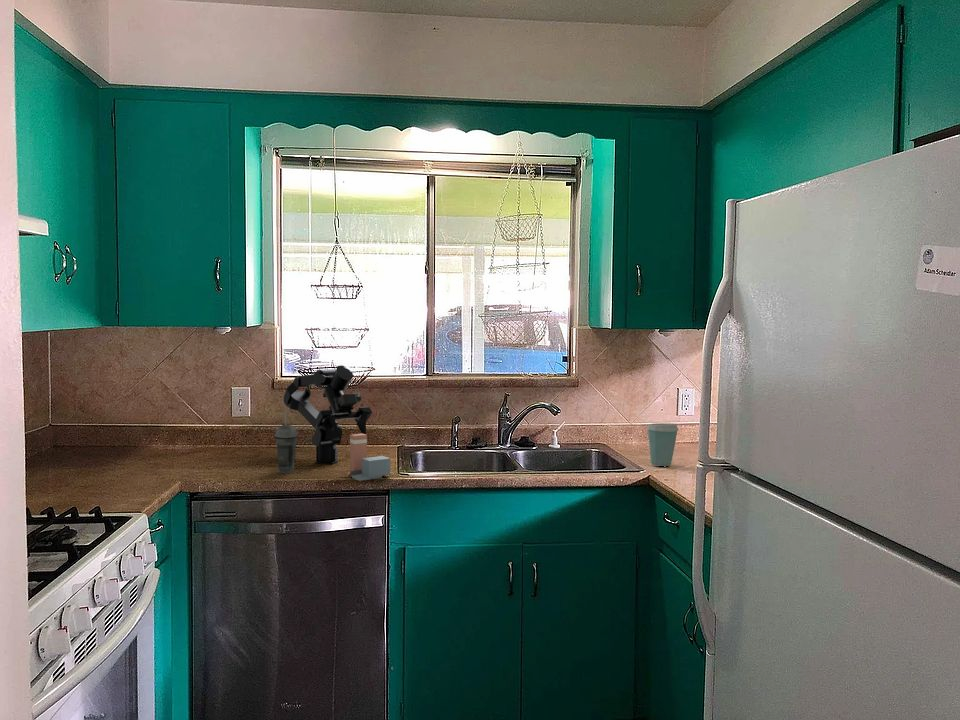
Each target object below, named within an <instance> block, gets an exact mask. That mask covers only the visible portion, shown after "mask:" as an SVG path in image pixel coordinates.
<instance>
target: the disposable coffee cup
mask: <svg viewBox="0 0 960 720" xmlns="http://www.w3.org/2000/svg"><path fill="white" fill-rule="evenodd" d="M646 429H647V435H648V436H647V438H648V447H649V448H648V449H649V456H650V457H649V458H650V464H651V465H652V466H653V465H654V466H653V467H656V466H670V467H671V465H672V463H673V456H674V452H675V445H676V440H677V436H678V435H677V434H678V432H679V427H678V424H677V423H669V422H667V423H665V422H663V423H658V422H657V423H650V424H648V425H647V427H646Z"/></svg>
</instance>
